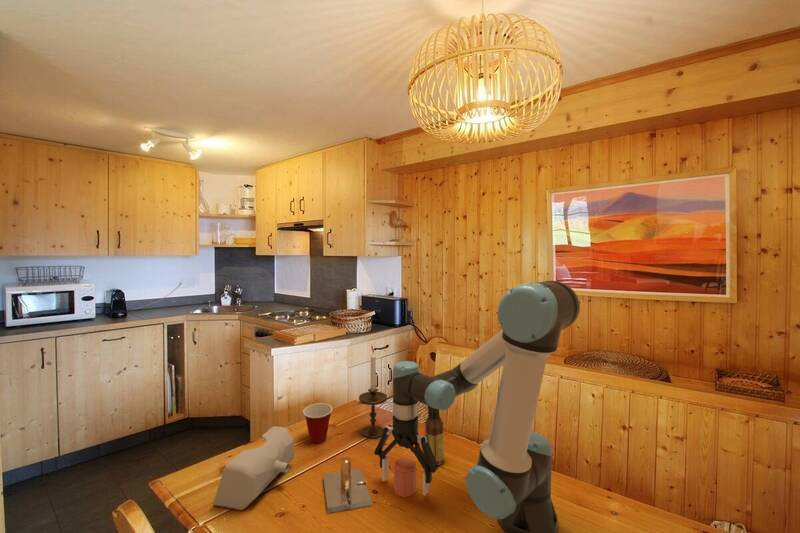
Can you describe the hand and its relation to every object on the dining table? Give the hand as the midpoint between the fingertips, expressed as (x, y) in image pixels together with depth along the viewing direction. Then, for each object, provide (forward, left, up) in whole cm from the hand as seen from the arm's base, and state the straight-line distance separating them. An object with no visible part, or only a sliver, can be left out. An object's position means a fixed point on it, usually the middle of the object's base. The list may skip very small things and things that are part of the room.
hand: (405, 485), depth 112 cm
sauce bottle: (+12, -14, -2) cm, 19 cm away
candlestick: (+37, +2, -2) cm, 37 cm away
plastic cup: (+37, +23, -2) cm, 44 cm away
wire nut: (0, 0, -1) cm, 1 cm away
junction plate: (+4, +17, -1) cm, 17 cm away
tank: (+14, +41, -2) cm, 43 cm away
